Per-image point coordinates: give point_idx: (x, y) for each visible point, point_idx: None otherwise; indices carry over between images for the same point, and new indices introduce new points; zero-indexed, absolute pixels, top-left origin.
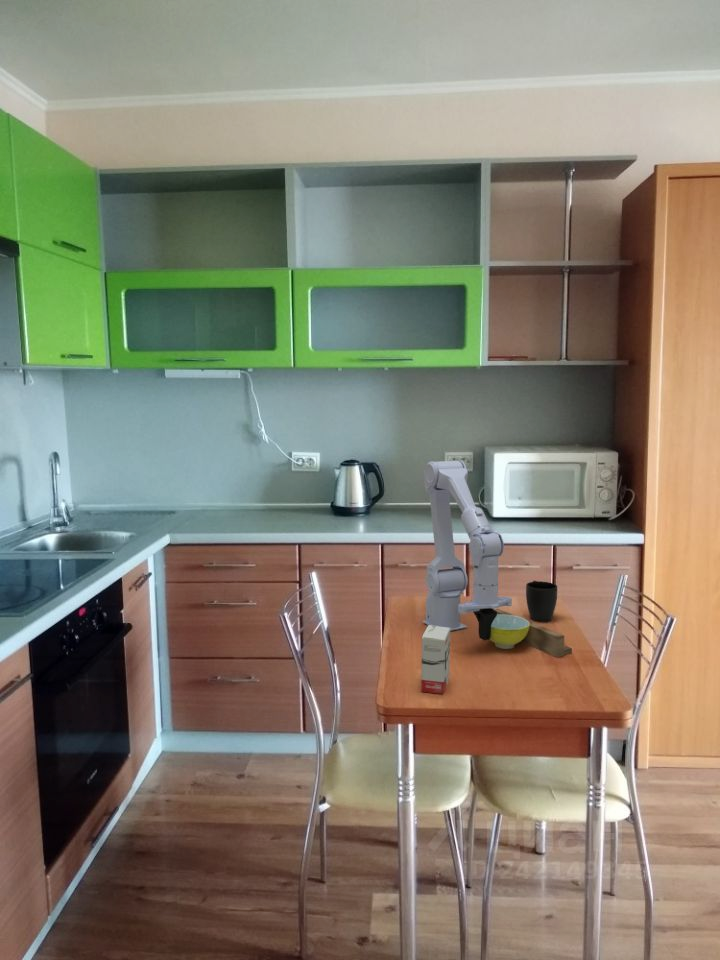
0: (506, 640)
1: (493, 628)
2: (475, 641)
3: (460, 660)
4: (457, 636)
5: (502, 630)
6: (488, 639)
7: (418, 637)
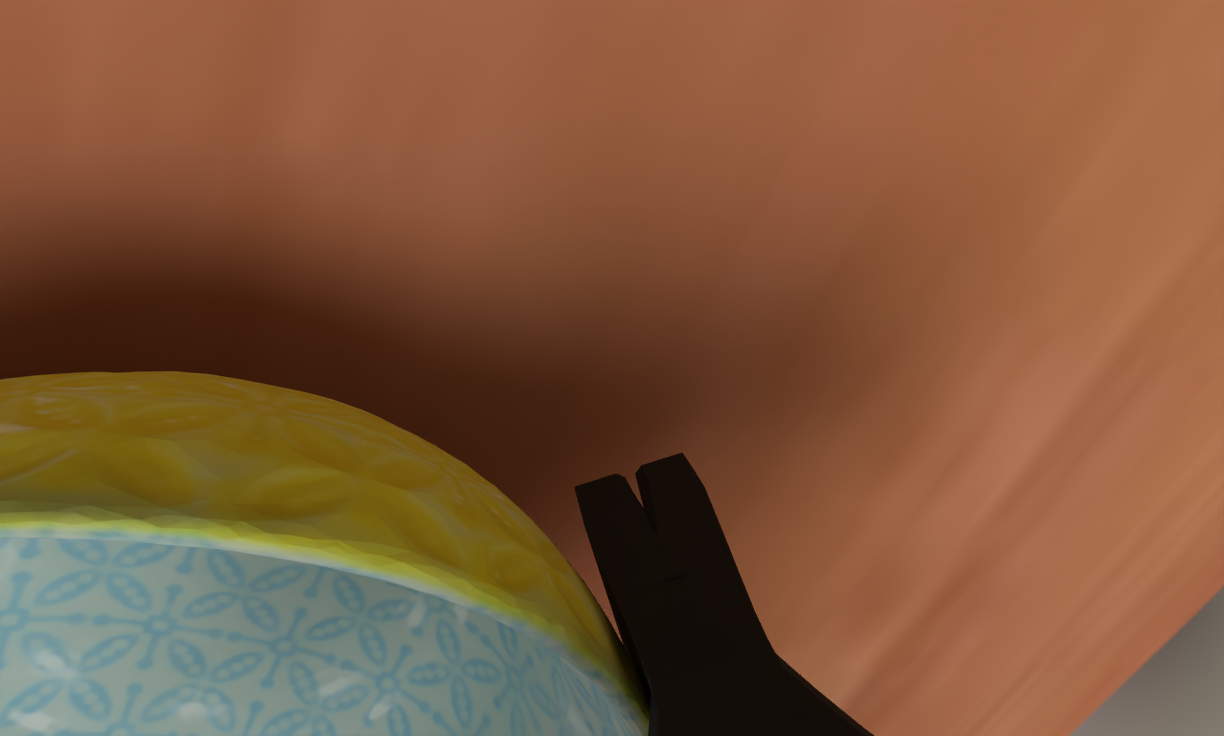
0: (273, 389)
1: (583, 629)
2: None
3: (1041, 157)
4: None
5: (377, 527)
6: (603, 479)
7: (959, 703)
